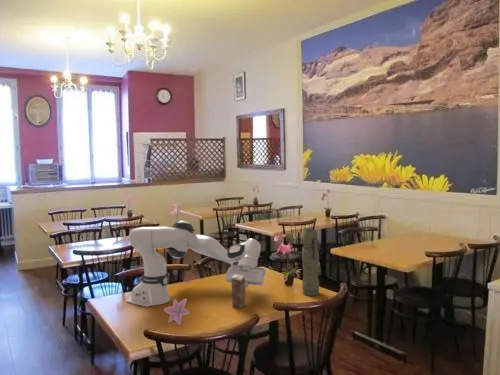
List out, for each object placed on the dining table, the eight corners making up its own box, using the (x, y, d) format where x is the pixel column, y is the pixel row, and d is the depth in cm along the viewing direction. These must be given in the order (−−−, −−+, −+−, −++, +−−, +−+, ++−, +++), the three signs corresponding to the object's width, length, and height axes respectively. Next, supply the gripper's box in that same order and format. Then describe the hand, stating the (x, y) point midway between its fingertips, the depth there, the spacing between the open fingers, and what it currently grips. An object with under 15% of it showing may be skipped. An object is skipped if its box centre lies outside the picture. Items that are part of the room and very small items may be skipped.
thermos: (310, 289, 241) (310, 226, 238) (324, 294, 231) (323, 229, 228) (297, 291, 237) (296, 228, 234) (310, 297, 226) (310, 231, 224)
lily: (162, 320, 203) (158, 306, 197) (183, 305, 209) (179, 291, 203) (177, 334, 195) (172, 320, 189) (198, 319, 201) (194, 305, 195)
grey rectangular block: (232, 306, 215) (231, 277, 214) (236, 303, 220) (235, 274, 219) (241, 307, 214) (240, 278, 212) (245, 304, 218) (244, 275, 217)
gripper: (268, 271, 226) (262, 295, 218) (231, 268, 233) (225, 291, 225) (265, 265, 222) (259, 289, 213) (228, 262, 229) (221, 285, 220)
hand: (241, 290), depth 219 cm, fingers closed
